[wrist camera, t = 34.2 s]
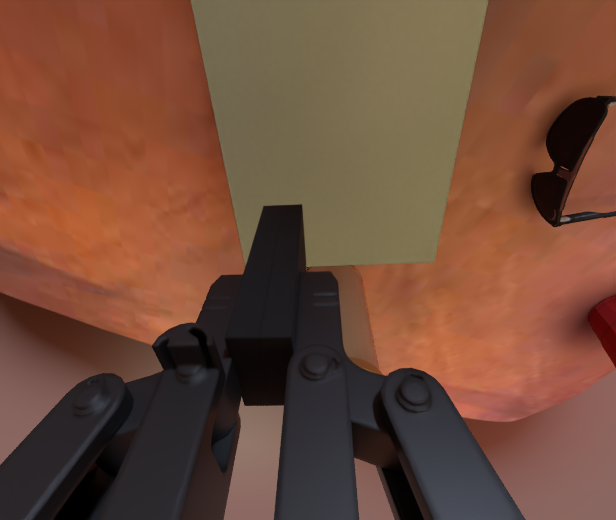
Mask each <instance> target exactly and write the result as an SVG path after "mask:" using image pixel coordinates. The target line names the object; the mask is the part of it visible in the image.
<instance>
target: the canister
mask: <svg viewBox="0 0 616 520" xmlns="http://www.w3.org/2000/svg"><path fill="white" fill-rule="evenodd" d="M317 271H331V272H332V274H333V275H334V277H335V278H336V279H337V281H338V287H339V300H340V312H341V324H342V336H343V346H344V350H345V352H346V354H347V356H348V357H349V359H350V360H351V361H352V362H353V363H354V364H356V365H357V366H359V367H360V368H362V369H365V370H367V371H370V372H374V373H377V374H381V375H383V374H382V373H381V371H380V370H379V366H378V361H377V356H376V350H375V345H374V340H373V335H372V329H371V324H370V319H369V314H368V308H367V303H366V298H365V293H364V287H363V282H362V278H361V275H360V274H359V272H358V271H357V270H356V269H355V268H354V267H352V266H351V265H347V266H320V267H311V268H310V269H309V270H308V271H307V272H317Z"/></svg>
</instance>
